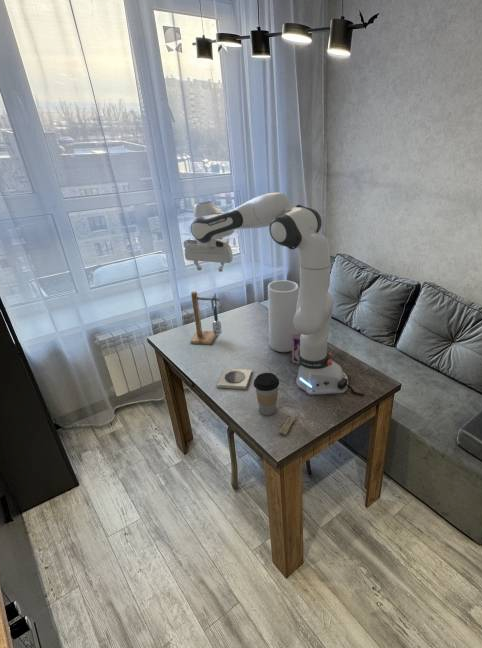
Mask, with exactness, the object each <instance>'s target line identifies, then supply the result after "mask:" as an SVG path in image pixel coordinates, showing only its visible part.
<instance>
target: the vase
mask: <svg viewBox="0 0 482 648" xmlns="http://www.w3.org/2000/svg"><path fill="white" fill-rule="evenodd" d="M299 287H300V285H299V284H298V283H296V282H295V281H292V280H287V279H281V280H275V281H274V280H273V281H271V282H269V283H268V285H267V307H268V309H267V310H268V311H267V312H268V313H267V314H268V342H269V347H270V348H271V349H272V350H273V351H276V352H280V353H288V352H289V353H290V352H292V334H300V333H299V332H298V331H297V330H296V329H295V327H294V324H293V320H294V316H295V313H296V307H297V300H298V294H299Z"/></svg>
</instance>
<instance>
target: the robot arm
mask: <svg viewBox="0 0 482 648" xmlns="http://www.w3.org/2000/svg"><path fill="white" fill-rule="evenodd" d="M322 225H323V221H322V217H321V215H320V213H319V212H318V211H317V210H316V209H313V208H311V207H307V206H304V205H301V204H297V205H295V206H293V205H292V204H291V201H290V199H289V197H288V196H287V195H286V194H285V193H283V192H279V191H278V192H268V193H264V194H260V195H257V196H255V197H253V198H250V199H249V200H247V201H245V202H244V203H242V204H240V205H238V206H236V207H235V208H233V209H231V210H229V211H227V212H224V211H223V210H221V209H220V208H218V207H217V206H216V204H215V202H214V201H211V200H205V201H198V202H196V203H195V204H194V208H193V219H192V222H191V225H190V232H191V235H192V237H193V238H186V239H185V240H184V241H183V247H184V259H185V260H186V261H191V262H193V264H194V265H195V267H196V270H197V271H202V269H203V268H202V265H200V264H199V262H205V263H220V266H219V267H218V272H219V273H222V272H223V271H224V266H225V264H231V263H232V261H233V260H234V257H233V250H232V247H231V245H230V244H229V243H230V239H229V238H227V237H229V236H231V235H233V233H234V232H235V230H247V229H260V228H261V229H262V228H266V227H268V232H269V234H270V237H271V238H272V240H273V242H275V243H276V244H278V245H279V246H282V247H286V248H288V249H289V250H295V249H298V252H299V294H298V300H297V307H296V313H295V316H294V320H293V324H294V327H295V329H296V330H297V331H298V332H299V334H301V336H300V352H299V364H298V371H297V376H296V378H295V384H296V386H297V387H298V388H300V389H301V390H302V391H304V392H305V393H307V394H308V395H309V396H317V395H318V396H319V395H333V394H345V393H346V391H347V390H348V388H349V389H350V391H351V393H352V394H354V395H357V396H363V397H364V396H365V394H364V393H363V392H356V391H355V390H354V388H353V386H352V385H349V377H348V375H347V374H346V373H345V372H344V371H343V368H342V366H341V365H340V364H339V363H337V362H336V361H334V360H332V353H331V352H328V338H329V333H330V328H331V321H332V316H333V310H334V304H335V300H334V297H333V296H332V294H331V293H330V292H329V288H330V283H331V250H330V243H329V240H328V238H327V236H325V235H324V234H322V233H320V231H321V228H322V227H323V226H322Z"/></svg>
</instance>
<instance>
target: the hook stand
mask: <svg viewBox="0 0 482 648" xmlns="http://www.w3.org/2000/svg"><path fill="white" fill-rule="evenodd" d="M190 295H191V301H192V309H193V315H194V322H195V330H196V332H195V333H194V335H193V337H192V338H191V340H190V343H191V344H195V345H196V344H197V345H212V344H213V343H214V341H215V339H216V337H217V335H215V334H214V333H213V331H208V330H203V328H202V321H201V312H200V307H199V301H211V297H204V296H203V297H201V296H198V292H197V291H191V293H190ZM221 299H222V298H220V297H216V298H214V300H213V302H215V301H217V302H221Z"/></svg>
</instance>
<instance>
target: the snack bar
mask: <svg viewBox="0 0 482 648" xmlns="http://www.w3.org/2000/svg"><path fill="white" fill-rule="evenodd" d="M296 420H297V417H296V416H288V417H287V418H286V420H285V422H284V423H283V425H282V426H281V427H280V429H279V431H278V433H279V434H281V435H283V436H286V435H288V432H289V430H290V429H291V427H292V425H293V424H294V422H295V421H296Z"/></svg>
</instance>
